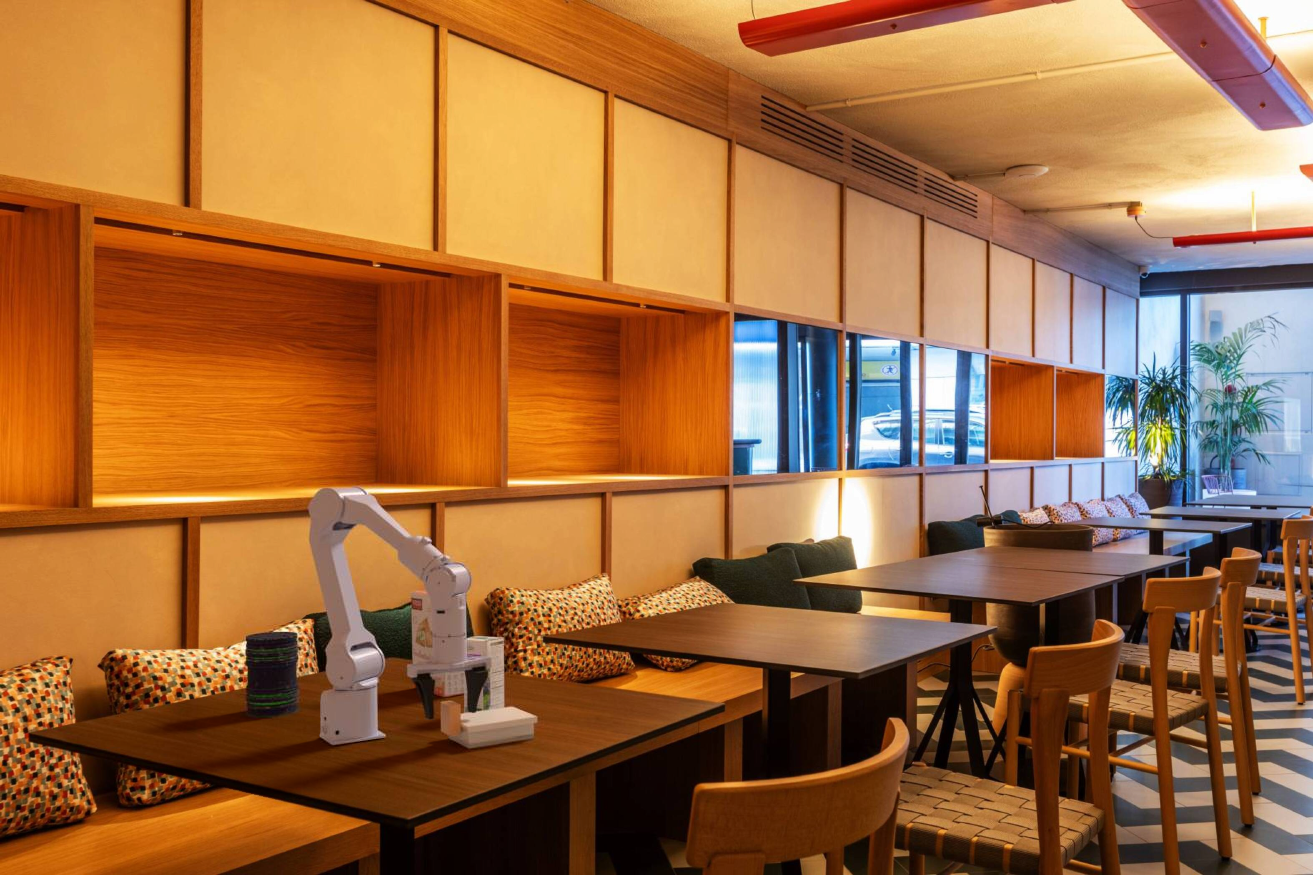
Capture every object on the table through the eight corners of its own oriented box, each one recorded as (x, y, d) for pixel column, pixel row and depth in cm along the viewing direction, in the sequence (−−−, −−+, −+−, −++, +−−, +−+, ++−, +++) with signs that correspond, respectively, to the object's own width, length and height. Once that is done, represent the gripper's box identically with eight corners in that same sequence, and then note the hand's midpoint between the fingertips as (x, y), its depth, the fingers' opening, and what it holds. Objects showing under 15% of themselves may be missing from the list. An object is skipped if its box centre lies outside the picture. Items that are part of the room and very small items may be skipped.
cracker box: (410, 688, 244) (409, 590, 245) (436, 684, 248) (435, 588, 248) (442, 698, 233) (440, 595, 234) (468, 694, 237) (466, 593, 237)
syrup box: (463, 715, 217) (461, 638, 217) (481, 709, 222) (480, 634, 222) (487, 718, 214) (486, 640, 214) (505, 711, 219) (504, 636, 220)
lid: (456, 739, 189) (456, 709, 189) (434, 727, 198) (433, 698, 198) (537, 726, 197) (536, 697, 197) (512, 716, 206) (511, 688, 206)
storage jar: (235, 716, 220) (234, 638, 220) (264, 705, 229) (263, 631, 230) (281, 718, 217) (280, 639, 218) (308, 707, 227) (308, 631, 227)
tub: (469, 748, 191) (468, 730, 191) (448, 738, 199) (448, 720, 199) (533, 738, 197) (533, 720, 198) (511, 728, 205) (511, 711, 205)
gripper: (417, 641, 187) (418, 725, 187) (498, 633, 195) (499, 713, 195) (402, 636, 193) (403, 717, 193) (481, 628, 201) (483, 706, 201)
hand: (450, 714), depth 194 cm, fingers open, 7 cm apart
